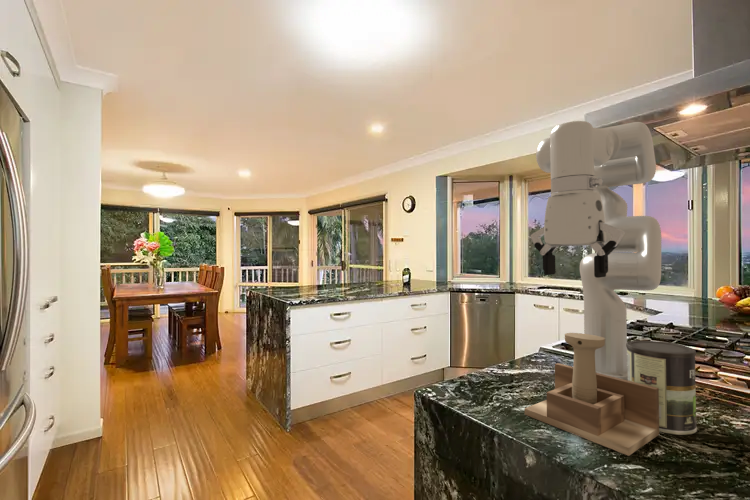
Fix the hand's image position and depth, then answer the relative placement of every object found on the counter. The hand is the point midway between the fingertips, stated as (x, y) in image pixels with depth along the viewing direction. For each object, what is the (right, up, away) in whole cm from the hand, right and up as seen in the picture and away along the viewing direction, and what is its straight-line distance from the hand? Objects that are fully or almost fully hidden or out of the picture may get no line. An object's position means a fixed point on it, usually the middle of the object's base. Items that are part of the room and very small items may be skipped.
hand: (573, 275), depth 72 cm
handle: (0, -26, -4) cm, 26 cm away
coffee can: (+14, -27, -3) cm, 31 cm away
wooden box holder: (0, -27, -4) cm, 27 cm away
